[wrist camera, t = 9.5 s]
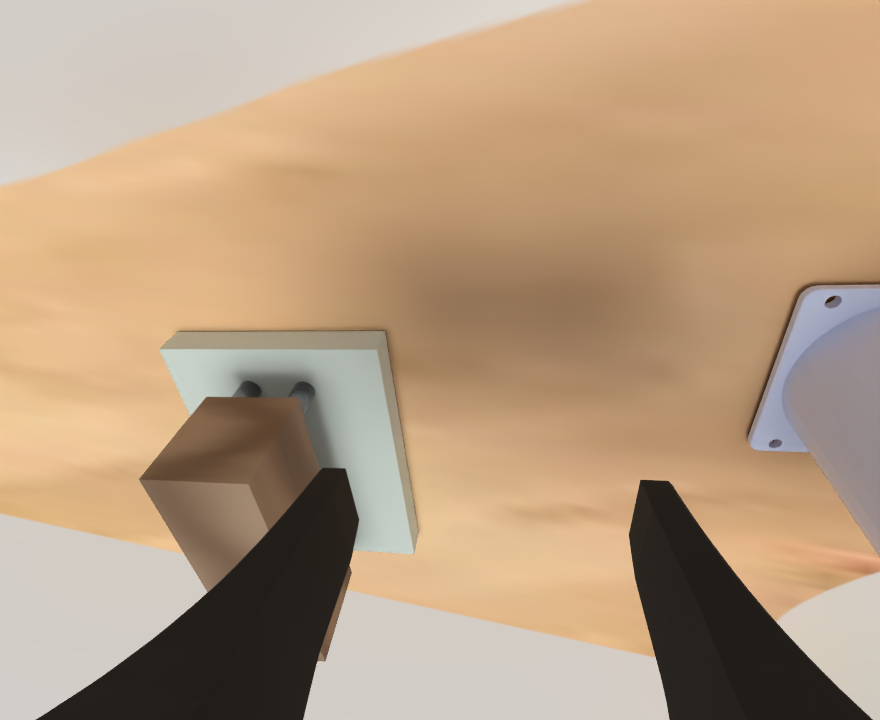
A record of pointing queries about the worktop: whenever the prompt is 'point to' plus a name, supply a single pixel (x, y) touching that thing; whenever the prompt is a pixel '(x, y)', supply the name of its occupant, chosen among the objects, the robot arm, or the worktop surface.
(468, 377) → the worktop surface
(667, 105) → the worktop surface
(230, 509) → the walnut plank
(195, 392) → the peg stand
